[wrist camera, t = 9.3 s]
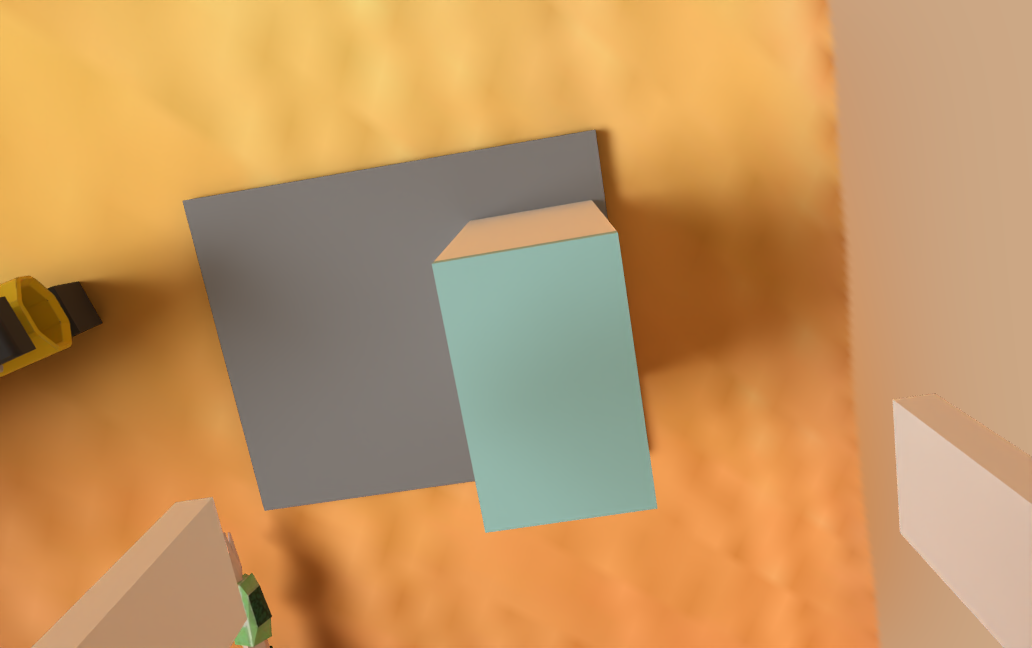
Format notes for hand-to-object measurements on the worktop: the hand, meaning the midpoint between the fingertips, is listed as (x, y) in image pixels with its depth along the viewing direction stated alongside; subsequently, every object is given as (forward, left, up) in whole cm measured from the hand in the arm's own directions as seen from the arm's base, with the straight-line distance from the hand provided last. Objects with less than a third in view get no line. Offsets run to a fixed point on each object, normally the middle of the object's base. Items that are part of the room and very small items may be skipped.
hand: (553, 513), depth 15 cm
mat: (0, -5, -18) cm, 19 cm away
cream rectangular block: (0, 0, -18) cm, 18 cm away
